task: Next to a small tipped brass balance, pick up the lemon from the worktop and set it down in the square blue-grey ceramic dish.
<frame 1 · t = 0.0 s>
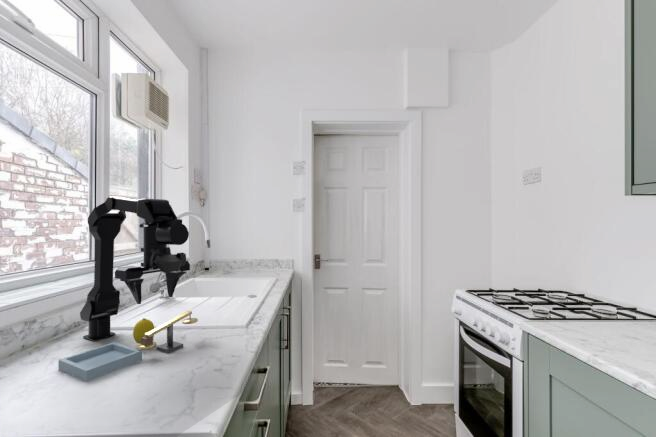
hand: (155, 300, 90), 15 cm above the countertop, tool pointing down, fingers open, 9 cm apart
dish: (101, 364, 83), on the countertop
lemon: (144, 346, 95), on the countertop
balance: (170, 348, 93), on the countertop
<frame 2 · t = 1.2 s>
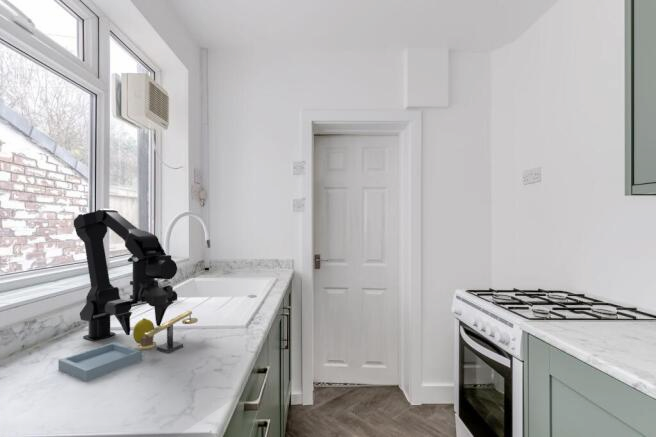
hand: (143, 330, 95), 4 cm above the countertop, tool pointing down, fingers open, 9 cm apart
nothing on the countertop moved.
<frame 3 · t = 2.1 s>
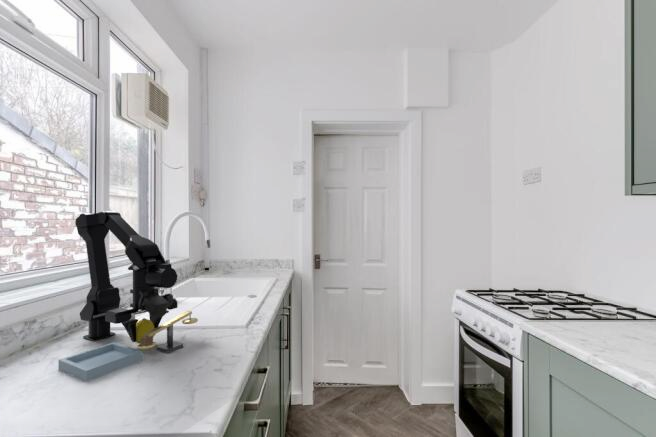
hand: (143, 338, 95), 2 cm above the countertop, tool pointing down, fingers closed on lemon, 5 cm apart
lemon: (144, 346, 95), on the countertop, touching gripper
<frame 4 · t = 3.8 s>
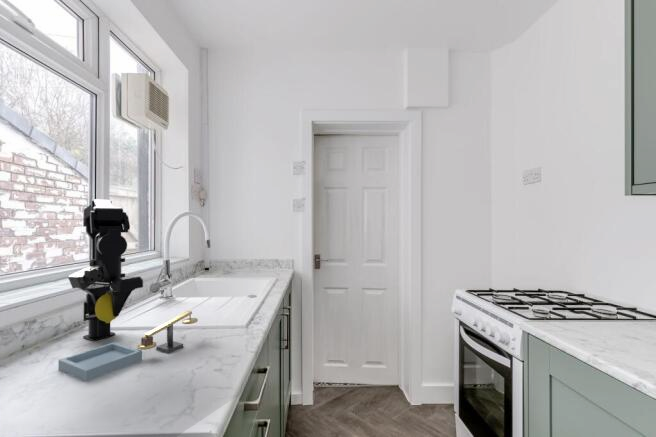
hand: (108, 315, 84), 12 cm above the countertop, tool pointing down, fingers closed on lemon, 5 cm apart
lemon: (108, 324, 84), point 10 cm above the countertop, touching gripper
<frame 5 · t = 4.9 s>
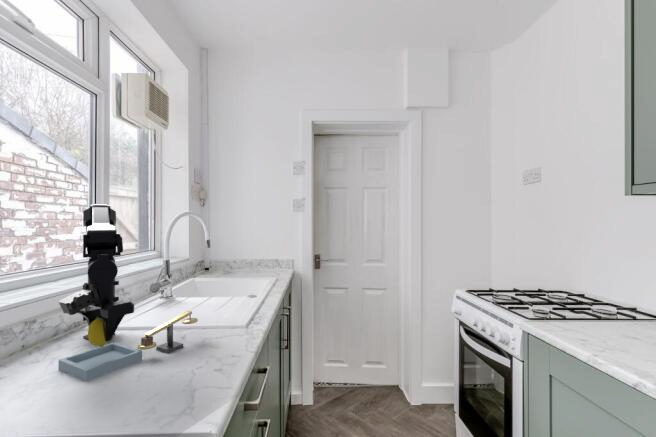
hand: (101, 339, 83), 7 cm above the countertop, tool pointing down, fingers closed on lemon, 5 cm apart
lemon: (101, 348, 83), point 4 cm above the countertop, touching gripper
when the fingers open (4 cm above the countertop, at t = 5.7 s): lemon drops 1 cm, resting on dish.
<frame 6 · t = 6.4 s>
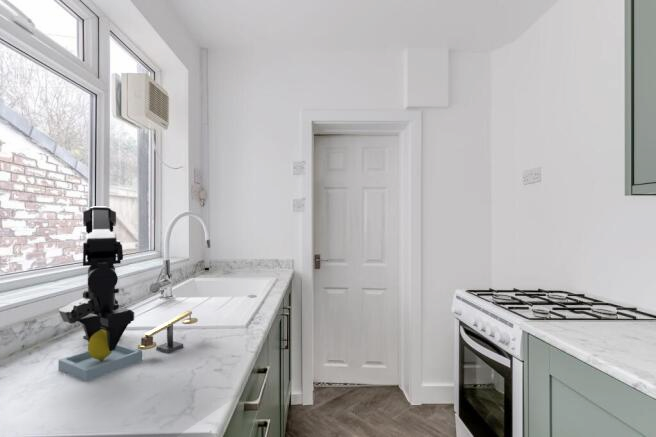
hand: (101, 347, 83), 4 cm above the countertop, tool pointing down, fingers open, 9 cm apart
lemon: (101, 361, 83), point 1 cm above the countertop, touching dish
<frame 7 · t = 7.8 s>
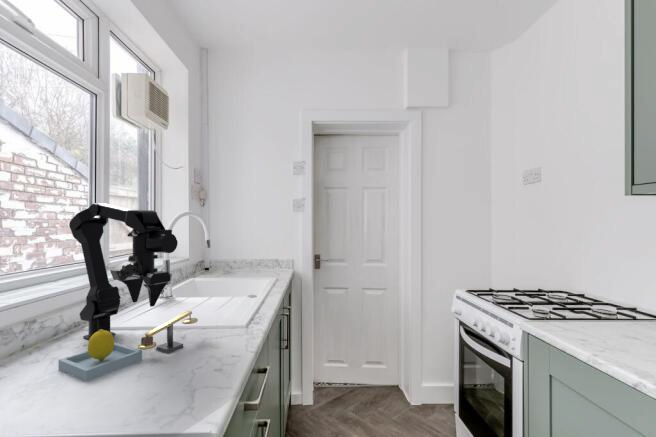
hand: (143, 304, 97), 12 cm above the countertop, tool pointing down, fingers open, 9 cm apart
nothing on the countertop moved.
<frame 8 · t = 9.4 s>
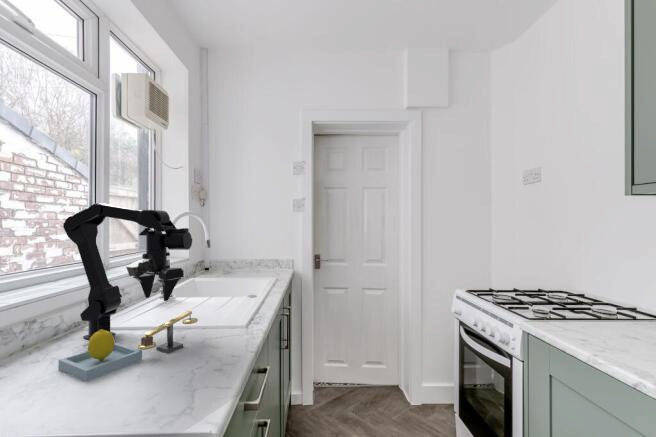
hand: (156, 299, 102), 12 cm above the countertop, tool pointing down, fingers open, 9 cm apart
nothing on the countertop moved.
at the end: lemon inside the target area on the dish (0.1 cm from its centre), point 0.8 cm above the dish's base; the gripper is holding nothing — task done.
